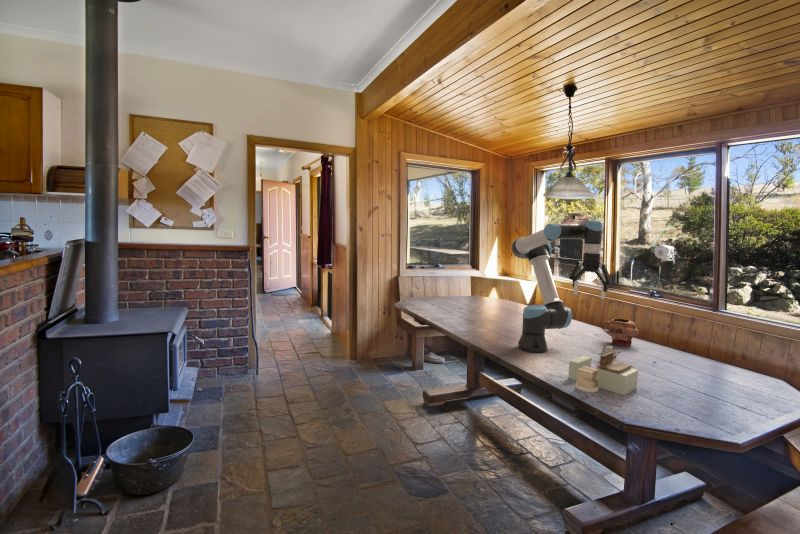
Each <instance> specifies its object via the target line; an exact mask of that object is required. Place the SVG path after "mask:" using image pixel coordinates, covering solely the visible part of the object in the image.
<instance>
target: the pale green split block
mask: <svg viewBox="0 0 800 534" xmlns="http://www.w3.org/2000/svg"><path fill="white" fill-rule="evenodd" d="M583 366H587V367H591V368H592V356H591V357H590V356H586V355H581V356H579V357H576V358H573V359H570V360H569V367H568V376H567V377H568V379H570V380H573V381H576V382H577V372H578V368H581V367H583ZM595 369H598V370H599V375H598V386H599V389H602V390H605V391H609V392H613V393H615V394H619V395H622V396H626V395H628V394H629V393H631V392H633V391H634V390H637V387H638V377H639V369H636V368H632V367H631V368H629V369H627V370H625V371H623V372H621V373H615V372H612V371H608V370H604V369H601V368H597V367H596V368H595Z"/></svg>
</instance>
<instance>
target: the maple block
mask: <svg viewBox="0 0 800 534" xmlns="http://www.w3.org/2000/svg"><path fill="white" fill-rule="evenodd" d="M598 375H599V370H598V369H596V368H594V367H592V366H591V367H587V366H583V367H581V368H578V372H577V381H576V383H577V385H578V386H581V387H585V388H588V389H593V388H595V387H597V386H598Z"/></svg>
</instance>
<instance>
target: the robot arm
mask: <svg viewBox="0 0 800 534" xmlns="http://www.w3.org/2000/svg"><path fill="white" fill-rule="evenodd" d="M603 231H604V230H603V222H602V220H592V219H591V220H586V221H585V223H555V222H554V223H548V224H546V225H545V227H544V228H543V229H541V230H539V231H537V232H534V233H532V234H530V235H527V236H525V237H524V236H520V237H517V238H516V239H514V240H513V241H512V243H511V246H510V250H511V252H512V253H511V254H513V256H514V257H516V258H519V259H524V260H528V262H529V265H532V267H533V270H534V271H533V272H534V273H535V277H536V280H537V285H538V289H539V291H540V295H541V298H542V302H543V304H529V305H526V306H524V308H523V310H522V311H523V313H522V329H521V331H522V332H521V335H520V338H519V340H518V343H517V348H518V350H520V351H523V352H527V353H535V354H536V353H537V354H539V353H540V354H541V353H546V352H548V344H547V339H546V336H545V335H546V334H545V333H546V330H555V329H556V330H557V329H559V330H561V329H565V328H568V327H569V326H570V324H571V323H572V320H573V313H572V310H571V308H569V306H566V305H565V303H564V301H563V300H561V299H560V297H559V294H558V289H557V287H556V283H555V279H554V277H553V276H554V275H553V273H552V270H551V267H550V263H549V260H550V258H551V256H552V249H553V248H552V246H551V243H552V242H555V241H557V240H584V241H583V242H584V243H583V255H582V256H583V258H582V261H576V264H575V267H574V268H573V270H572V272H571V273H570V274H569V275H570V276H569V277H568V278H569V280H571V281H572V288H573V295H578V293H579V283H580V282H579V279H580V278H581V277H582V276H583V275H584V274H585V273H587V272H588V273H589V272H590V273H594V274H596V276H597V277H598V279H599V280H600V281H601V283H602V285H601V290H600V291H601V292H600V299H601V300H604V299H605V298H606V293H607V292H608V287H609V285H612V284H613V281H612V278H611V276H610V274H609V271H608V269H607V263H600V262H601V254H600V253H601V250H602V236H603ZM581 267H582V269H580V268H581ZM600 269H601V270H600ZM579 270H580V271H579ZM601 271H602V272H601ZM602 273H603V274H602Z"/></svg>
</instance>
